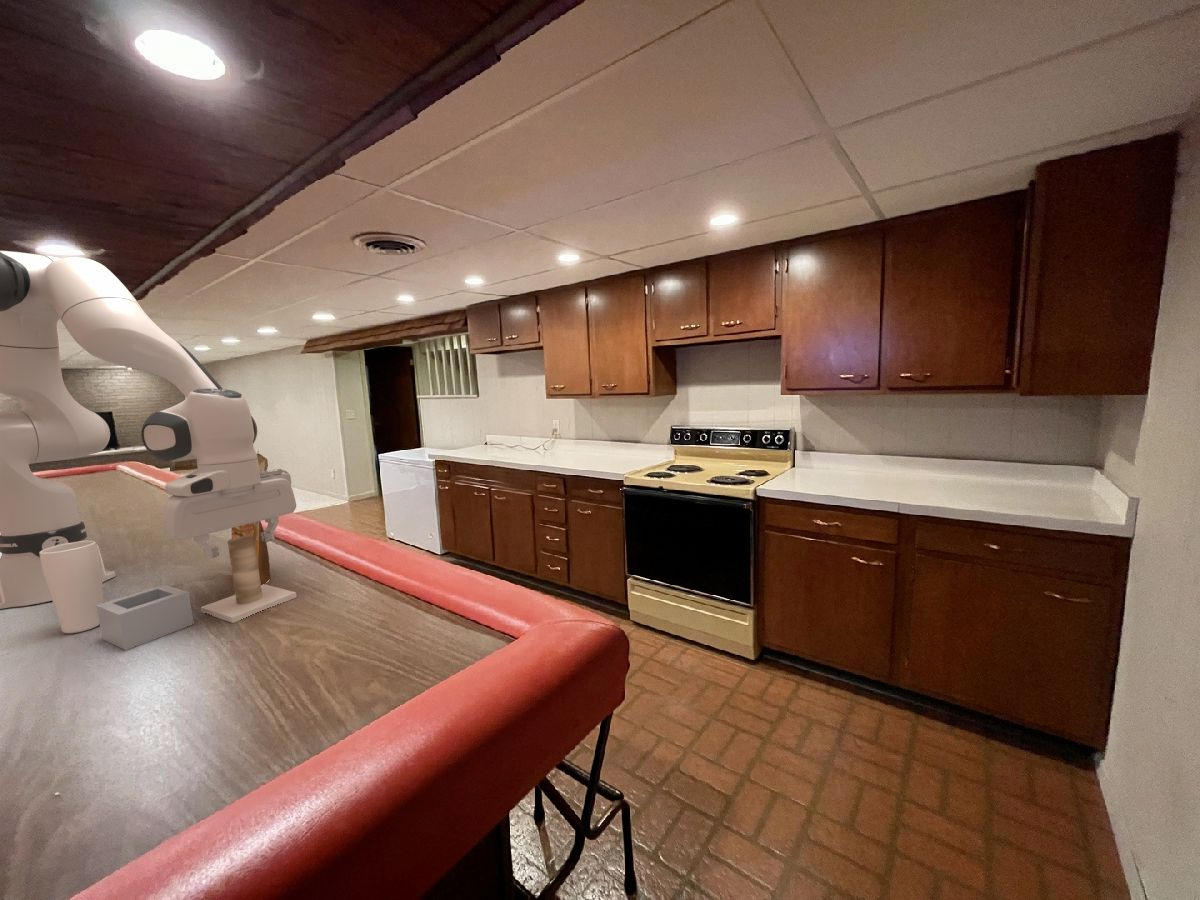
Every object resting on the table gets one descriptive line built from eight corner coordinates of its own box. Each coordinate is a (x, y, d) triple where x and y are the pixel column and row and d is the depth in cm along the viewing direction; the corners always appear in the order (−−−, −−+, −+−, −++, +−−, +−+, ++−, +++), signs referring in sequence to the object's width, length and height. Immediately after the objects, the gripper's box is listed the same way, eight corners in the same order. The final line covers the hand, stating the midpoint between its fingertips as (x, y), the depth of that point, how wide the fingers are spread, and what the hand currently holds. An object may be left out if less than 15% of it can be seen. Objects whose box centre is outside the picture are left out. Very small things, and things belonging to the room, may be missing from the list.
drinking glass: (74, 638, 80) (56, 553, 78) (45, 636, 81) (27, 552, 79) (121, 619, 87) (106, 540, 85) (93, 617, 88) (78, 539, 86)
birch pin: (232, 602, 89) (223, 541, 88) (255, 593, 93) (246, 534, 91) (243, 605, 87) (234, 543, 86) (266, 596, 91) (258, 537, 89)
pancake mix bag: (262, 563, 113) (245, 448, 110) (286, 581, 101) (268, 452, 97) (227, 572, 108) (209, 452, 105) (248, 592, 96) (228, 457, 92)
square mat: (201, 612, 88) (200, 607, 88) (264, 588, 98) (264, 584, 97) (233, 623, 83) (232, 617, 83) (296, 597, 93) (296, 592, 92)
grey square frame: (102, 639, 79) (95, 605, 78) (169, 615, 87) (164, 584, 86) (125, 650, 75) (118, 614, 74) (194, 624, 83) (188, 591, 82)
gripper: (279, 466, 98) (288, 531, 99) (152, 486, 79) (166, 565, 81) (298, 467, 95) (306, 533, 96) (170, 489, 77) (184, 570, 78)
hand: (241, 548), depth 89 cm, fingers open, 8 cm apart
